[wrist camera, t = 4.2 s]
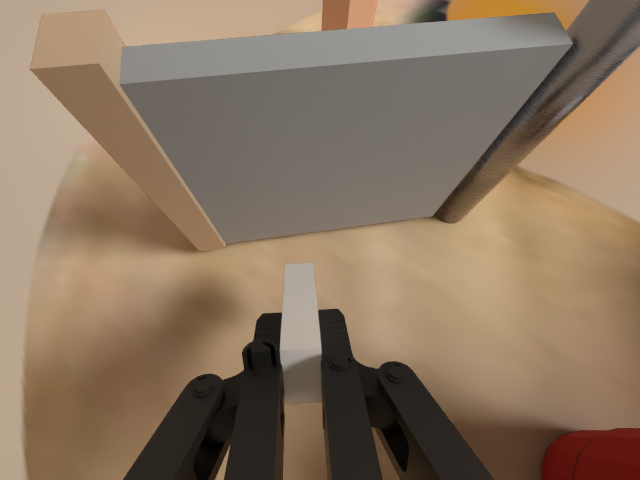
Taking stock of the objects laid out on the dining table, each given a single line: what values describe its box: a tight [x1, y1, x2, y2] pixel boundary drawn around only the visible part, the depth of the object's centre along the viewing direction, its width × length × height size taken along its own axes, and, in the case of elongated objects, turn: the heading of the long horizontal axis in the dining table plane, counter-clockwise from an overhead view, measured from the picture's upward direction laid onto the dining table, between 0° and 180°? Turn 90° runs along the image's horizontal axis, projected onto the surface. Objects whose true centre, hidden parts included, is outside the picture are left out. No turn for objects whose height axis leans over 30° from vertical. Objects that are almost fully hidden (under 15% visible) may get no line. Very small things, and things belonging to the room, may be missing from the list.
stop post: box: [322, 0, 378, 31], centre depth 27 cm, size 3×3×9 cm
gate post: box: [435, 0, 640, 223], centre depth 18 cm, size 2×2×18 cm
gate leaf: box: [30, 10, 573, 251], centre depth 17 cm, size 17×2×15 cm, turn 99°
